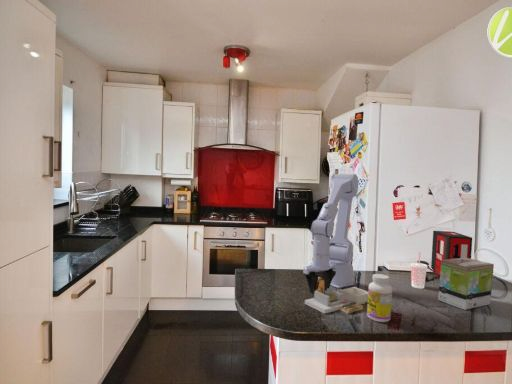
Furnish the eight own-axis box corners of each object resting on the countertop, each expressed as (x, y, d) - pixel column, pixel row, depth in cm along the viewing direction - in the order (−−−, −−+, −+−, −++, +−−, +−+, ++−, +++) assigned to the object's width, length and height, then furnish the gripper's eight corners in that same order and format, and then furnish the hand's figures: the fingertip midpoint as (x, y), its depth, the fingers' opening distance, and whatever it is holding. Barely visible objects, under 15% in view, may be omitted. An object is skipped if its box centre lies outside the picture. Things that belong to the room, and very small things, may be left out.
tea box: (466, 311, 104) (469, 266, 104) (437, 300, 113) (439, 259, 113) (491, 304, 111) (494, 262, 111) (462, 295, 120) (464, 256, 120)
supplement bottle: (363, 313, 99) (365, 272, 99) (383, 313, 100) (385, 272, 99) (372, 323, 92) (375, 279, 92) (394, 323, 93) (397, 279, 92)
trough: (354, 305, 105) (354, 300, 105) (362, 309, 102) (362, 303, 102) (339, 309, 101) (339, 304, 101) (347, 313, 98) (347, 307, 98)
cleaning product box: (469, 285, 134) (472, 237, 133) (446, 283, 135) (449, 236, 134) (450, 274, 150) (453, 231, 149) (430, 272, 151) (433, 230, 150)
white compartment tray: (330, 297, 112) (330, 285, 112) (350, 306, 104) (351, 293, 104) (304, 303, 105) (305, 291, 105) (324, 313, 98) (325, 300, 97)
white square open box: (354, 295, 115) (354, 286, 115) (370, 302, 109) (370, 292, 109) (341, 298, 111) (341, 289, 111) (357, 305, 105) (357, 296, 105)
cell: (319, 293, 116) (320, 275, 116) (326, 296, 113) (326, 278, 113) (312, 294, 114) (313, 276, 114) (319, 297, 111) (319, 279, 111)
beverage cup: (409, 287, 127) (411, 252, 126) (408, 283, 133) (410, 249, 132) (427, 290, 125) (429, 254, 124) (425, 285, 130) (427, 251, 130)
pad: (327, 296, 107) (327, 293, 107) (336, 300, 104) (336, 297, 104) (319, 298, 105) (319, 295, 105) (328, 302, 102) (328, 299, 102)
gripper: (327, 249, 120) (325, 285, 121) (298, 252, 112) (296, 291, 113) (341, 253, 114) (339, 290, 115) (312, 257, 107) (310, 297, 107)
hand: (319, 291), depth 113 cm, fingers open, 6 cm apart
